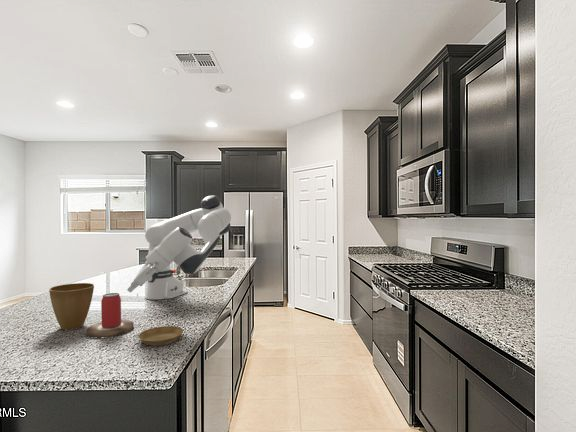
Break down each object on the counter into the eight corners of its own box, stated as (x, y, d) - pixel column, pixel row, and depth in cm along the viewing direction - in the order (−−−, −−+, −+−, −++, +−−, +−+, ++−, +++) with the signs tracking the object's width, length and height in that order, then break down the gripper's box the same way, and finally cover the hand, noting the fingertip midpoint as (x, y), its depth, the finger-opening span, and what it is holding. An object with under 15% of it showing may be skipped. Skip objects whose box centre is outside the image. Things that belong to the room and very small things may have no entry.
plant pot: (46, 336, 121) (45, 292, 121) (53, 324, 134) (52, 285, 134) (93, 329, 128) (93, 287, 128) (95, 318, 141) (95, 281, 141)
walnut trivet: (117, 321, 138) (117, 317, 138) (142, 327, 130) (142, 323, 129) (77, 333, 124) (77, 328, 124) (101, 341, 116) (101, 336, 116)
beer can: (125, 324, 129) (124, 293, 129) (110, 329, 122) (110, 297, 122) (112, 322, 131) (112, 292, 131) (97, 327, 125) (97, 295, 125)
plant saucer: (168, 329, 127) (168, 323, 127) (192, 338, 118) (191, 331, 118) (130, 342, 115) (129, 334, 115) (153, 352, 106) (153, 344, 106)
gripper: (162, 270, 122) (133, 299, 119) (164, 263, 142) (139, 288, 138) (148, 259, 121) (119, 288, 118) (152, 253, 140) (127, 278, 137)
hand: (130, 288), depth 128 cm, fingers open, 8 cm apart
